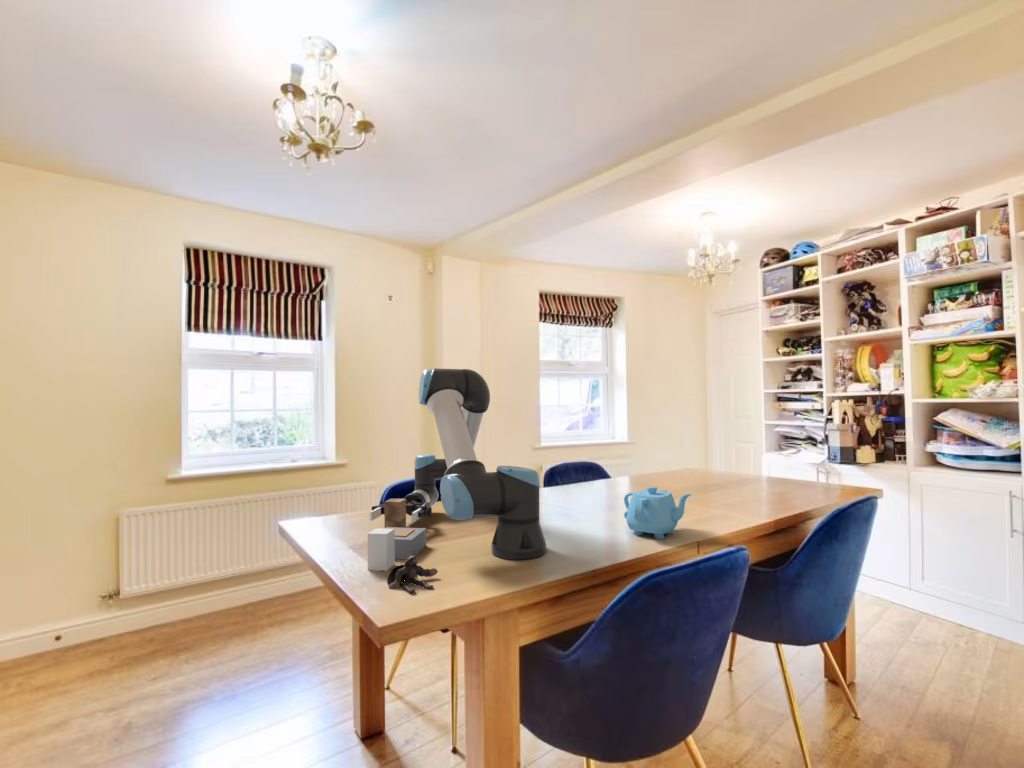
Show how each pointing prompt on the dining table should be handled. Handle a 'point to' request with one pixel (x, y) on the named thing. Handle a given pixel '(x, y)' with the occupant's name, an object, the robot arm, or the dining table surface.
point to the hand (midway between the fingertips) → (391, 516)
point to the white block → (381, 549)
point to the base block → (408, 541)
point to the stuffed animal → (409, 575)
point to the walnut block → (395, 513)
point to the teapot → (653, 511)
